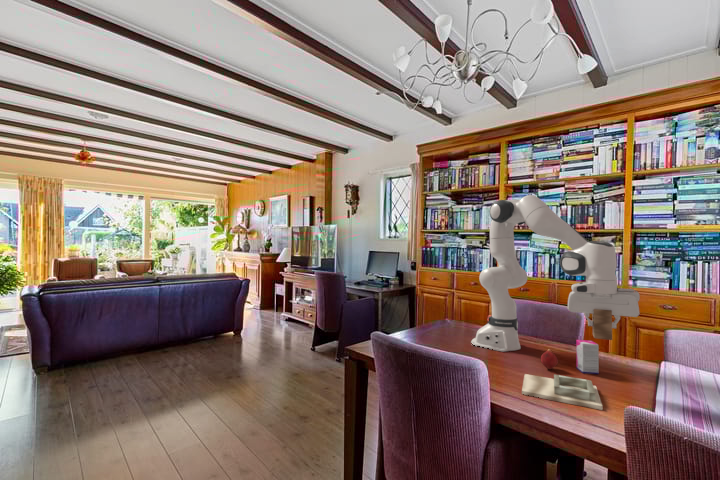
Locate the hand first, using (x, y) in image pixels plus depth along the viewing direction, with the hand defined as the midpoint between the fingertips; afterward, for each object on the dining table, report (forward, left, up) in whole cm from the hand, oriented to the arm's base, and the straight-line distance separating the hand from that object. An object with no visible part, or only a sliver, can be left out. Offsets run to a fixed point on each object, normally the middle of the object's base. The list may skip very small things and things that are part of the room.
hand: (601, 326), depth 115 cm
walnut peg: (0, 0, -4) cm, 4 cm away
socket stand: (-13, -11, -21) cm, 27 cm away
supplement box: (-3, +15, -21) cm, 26 cm away
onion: (-16, +10, -21) cm, 29 cm away
